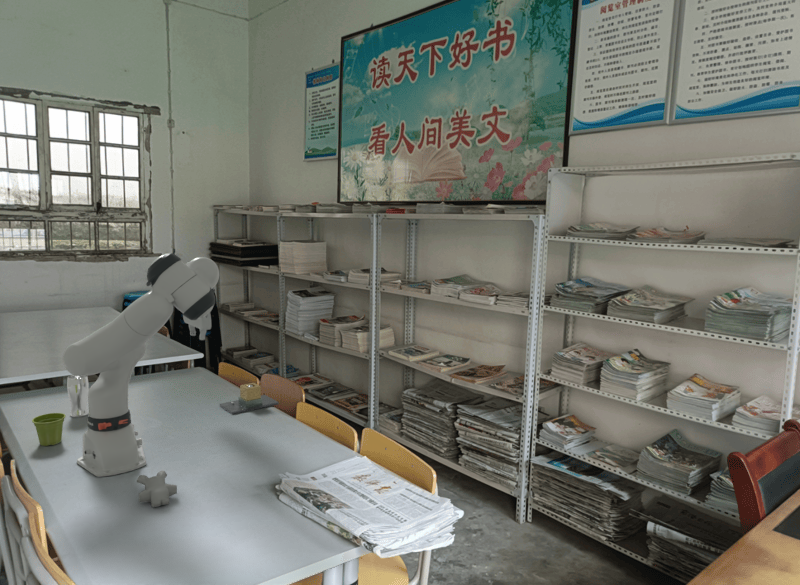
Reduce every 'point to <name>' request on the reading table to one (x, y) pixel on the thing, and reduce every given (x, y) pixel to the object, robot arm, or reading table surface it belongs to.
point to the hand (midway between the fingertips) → (197, 337)
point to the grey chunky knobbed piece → (156, 489)
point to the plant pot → (49, 428)
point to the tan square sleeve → (250, 392)
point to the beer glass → (78, 395)
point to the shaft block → (248, 404)
